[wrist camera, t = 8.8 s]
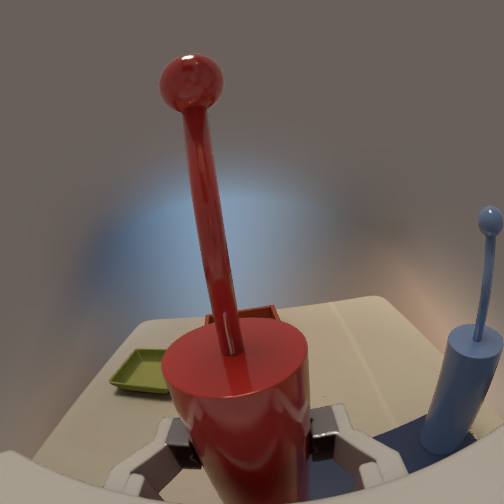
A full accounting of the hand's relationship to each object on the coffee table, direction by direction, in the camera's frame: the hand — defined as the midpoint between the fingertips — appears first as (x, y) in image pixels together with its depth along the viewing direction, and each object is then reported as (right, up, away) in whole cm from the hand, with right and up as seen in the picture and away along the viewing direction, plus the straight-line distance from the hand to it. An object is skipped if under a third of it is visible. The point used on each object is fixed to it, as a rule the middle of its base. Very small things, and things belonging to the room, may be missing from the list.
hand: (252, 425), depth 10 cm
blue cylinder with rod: (+16, -8, +5) cm, 19 cm away
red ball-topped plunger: (+1, -5, 0) cm, 6 cm away
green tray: (-13, -10, +23) cm, 28 cm away
